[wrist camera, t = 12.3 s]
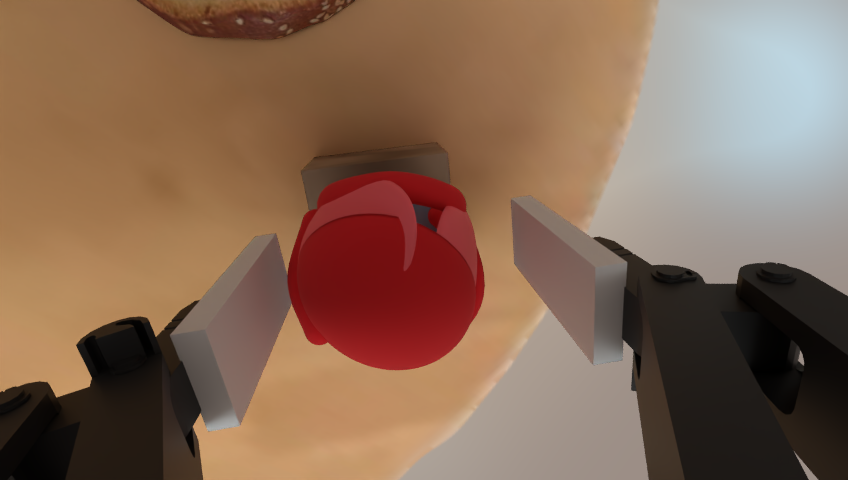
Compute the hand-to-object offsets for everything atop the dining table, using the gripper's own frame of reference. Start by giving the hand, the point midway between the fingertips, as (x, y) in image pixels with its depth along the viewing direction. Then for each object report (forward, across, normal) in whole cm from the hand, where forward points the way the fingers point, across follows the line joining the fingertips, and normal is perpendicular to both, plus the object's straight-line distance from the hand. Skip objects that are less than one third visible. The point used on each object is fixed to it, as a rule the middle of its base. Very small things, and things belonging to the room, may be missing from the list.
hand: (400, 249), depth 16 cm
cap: (+1, 0, 0) cm, 1 cm away
